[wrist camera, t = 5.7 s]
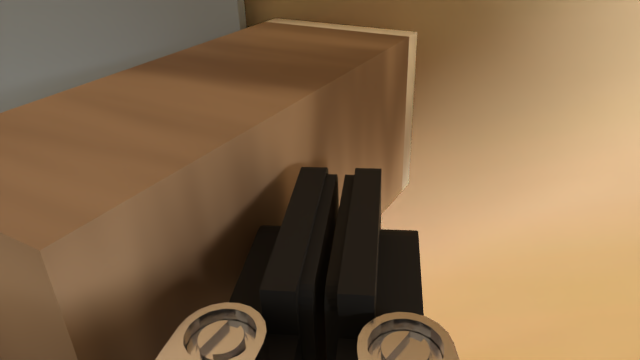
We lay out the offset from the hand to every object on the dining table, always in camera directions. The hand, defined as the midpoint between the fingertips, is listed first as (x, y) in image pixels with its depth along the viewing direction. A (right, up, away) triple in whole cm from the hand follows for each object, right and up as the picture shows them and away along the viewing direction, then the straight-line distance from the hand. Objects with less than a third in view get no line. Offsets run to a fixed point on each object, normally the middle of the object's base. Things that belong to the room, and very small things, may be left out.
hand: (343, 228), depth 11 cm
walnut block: (0, +4, +6) cm, 7 cm away
